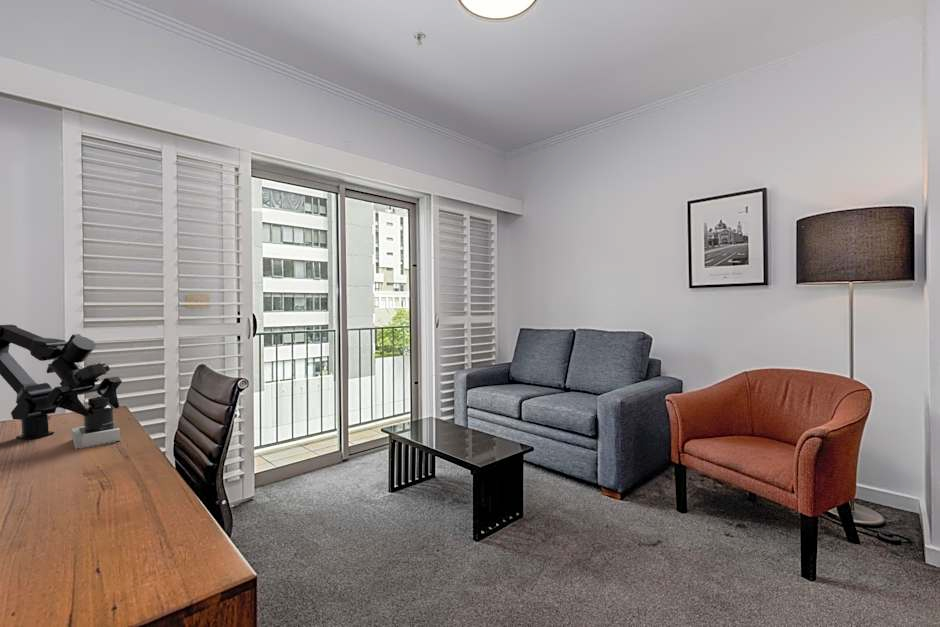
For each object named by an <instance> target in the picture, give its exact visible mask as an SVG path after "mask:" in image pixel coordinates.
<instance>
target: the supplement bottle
mask: <svg viewBox="0 0 940 627" xmlns="http://www.w3.org/2000/svg"><path fill="white" fill-rule="evenodd" d="M87 402H88V403H87V406H88V407H86V409H87V411H88V413H89V415H88V416H84V415H83V421H84V422H83V424H84V425H83V426H84V432H85V434H86V433H93V432H99V431H105V430H111V429H114V422H115V419H114V417H115V414H114V407H113V406H111V405H110V404H109V397H108V396H102V395H100V396H93V397H89V398H88V400H87Z"/></svg>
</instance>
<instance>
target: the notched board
mask: <svg viewBox="0 0 940 627" xmlns="http://www.w3.org/2000/svg"><path fill="white" fill-rule="evenodd" d="M71 440H73V441H72V444H73V443H74V444H73V447H74V446H75V447H74V448H75V450H78V449H77V448H80V449H85V448H84V447H86V448H91V447H95V445H97V446H101V444H102V445H107V444H106V443H108V444H112V443H111V442H114V443H117V442H116V441H119V442H121V428H119V427H118V428H116V422H115V421H114V429H111V430H105V431H99V432H93V433H86V434H85V432H84V425H83V426H78V427H77V426H76V427H72V428H71ZM90 446H91V447H90Z"/></svg>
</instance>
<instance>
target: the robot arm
mask: <svg viewBox="0 0 940 627" xmlns="http://www.w3.org/2000/svg"><path fill="white" fill-rule="evenodd" d="M10 344H13V345H16V346H18V347H20V348H23V349H25V350H28V351H29V352H30V355H31V356H32V357H34V358H35V359H36V360H38V361H41V362H44V361H51V363H48V364H47V368H46V373H47V374H52V373H55V374H56V375H57V377H58V378H59V379H60V380H61V381H60V383H59V386H55V387H54V388H52V387H51V385H50V384H49V383H48V382H42V383H37V382H36V381H35V380H34V379H33V377H31V376H30V375H29V374H28V372H27V371H26V370H25V369H24V368H23V367H22V366H21V365H20V364H19V362H18V361H17V360H16V359H15V358H14V357H13V356H12V355H11V354H10V353H9V349H10ZM95 348H96V343H95V341H94V340H91V339H89V338H88V337H86V336H82V335H81V334H80V333H78V334H77V333H76V334H72V335H71V336H70V338H69V339H68V341H66V340H64V339H58V338H51V337H50V338H49V337H43V336H40V335H38V334H35V333H32V332H30V331H27V330H25V329H22V328H20V327H18V326H17V325H16V324H15V325H14V324H0V376H1V377H2V379H4V380H5V382H6V383H7V384H8V385H9V386H10V388H11V389H12V390H13V391H14V392H15V393H16V400H15V404H16V406H15V407H14V408H13V409H12V410H11V412H10V415H11V417H12V420H21V434H20V435H16V436H15V439H24V440H33V439H37V438H42V437H45V436H50V435H53V434H55V432H54V431H49V430H50V429H49V428H50V427H49V416H48V415H50V414H55V413H56V410H57V409H59V408H60V409H63V410H67V411H71V412H72V413H76V414H79V415H81V416H83V417H84V416H88V415H89V413H88V411H87V407H86V406H85V405H84V404H83V402H81V400H80V399H79V397H78V396H81V395H86V394H92V393H97V394H98V395H99V396H108V397H109V403H108V405H110V406H112V407H113V409H114V408H115V409H119V407H120V403H119V400H118V395H117V389H118V388H119V387H120V385H121V384H122V383H123V381H122V380H121V378H120V377H119V376H110V377H105V378H103V380H102V381H101V382H100V383H98V384H96V383H97V382H99V380H100V379H99V377H101V376H103V375H106V374H107V372H109V371H110V370H111V369H110V366H109V364H107V362H106V361H100V362H98V363H96V364H89V365H86V366H84V367H82V366H81V364H80V363H82V362H85V361H86V360H87V358H88V356H90V354H91V353H92V352H93V350H95Z"/></svg>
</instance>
